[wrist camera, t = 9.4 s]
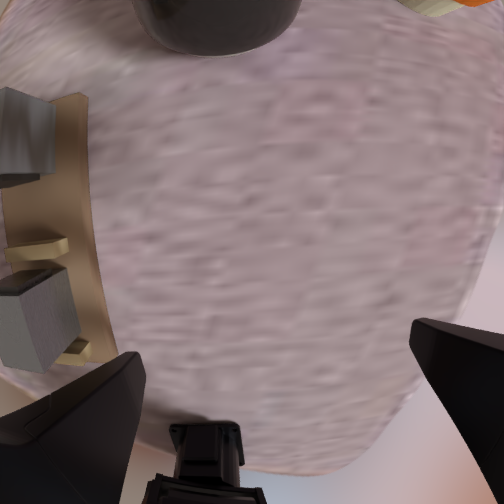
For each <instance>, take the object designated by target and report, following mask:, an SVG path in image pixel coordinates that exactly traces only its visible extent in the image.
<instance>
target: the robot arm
mask: <svg viewBox="0 0 504 504" xmlns="http://www.w3.org/2000/svg"><path fill="white" fill-rule="evenodd" d="M409 345H410V348H411V350H412V352H413V354H414V356H415V358H416V360H417V362H418V364H419V366H420V368H421V370H422V371H423V373H424V375H425V377H426V379H427V381H428V382H429V384H430V385H431V387H432V388H433V390H434V392H435V393H436V395H437V396H438V398H439V399H440V401H441V403H442V404H443V406H444V407H445V409H446V410H447V412H448V414H449V415H450V417H451V419H452V420H453V422H454V424H455V425H456V427H457V429H458V430H459V432H460V434H461V436H462V437H463V439H464V441H465V442H466V444H467V446H468V448H469V449H470V451H471V453H472V455H473V457H474V458H475V460H476V462H477V464H478V466H479V467H481V468H480V470H481V472H482V473H483V475H484V477H485V479H486V481H487V483H488V485H489V487H490V489H491V491H492V493H493V495H494V497H495V499H496V501H497V503H498V504H504V334H499V333H494V332H489V331H484V330H479V329H474V328H470V327H465V326H460V325H456V324H451V323H446V322H442V321H437V320H433V319H428V318H419V319H415V320H414V321H413V322H412V326H411V332H410V339H409ZM145 383H146V373H145V370H144V366H143V363H142V359H141V356H140V354H139V353H138V352H125V353H123V354H121V355H119V356H118V357H116V358H114V359H112V360H111V361H109V362H107V363H105V364H103V365H102V366H100V367H98V368H96V369H95V370H93V371H91V372H89V373H87V374H86V375H84V376H82V377H80V378H78V379H76V380H75V381H73V382H71V383H69V384H67V385H66V386H64V387H62V388H60V389H58V390H56V391H55V392H53V393H51V395H47V396H45V397H43V398H41V399H39V400H38V401H36V402H34V403H32V404H30V405H28V406H25V407H23V408H21V409H19V410H16V411H14V412H12V413H9V414H7V415H5V416H2V417H0V504H119V501H120V497H121V492H122V488H123V483H124V479H125V475H126V471H127V466H128V463H129V458H130V455H131V451H132V447H133V443H134V439H135V435H136V432H137V428H138V424H139V420H140V416H141V409H142V403H143V396H144V389H145ZM234 428H236V429H234ZM174 429H175V430H174ZM169 432H170V435H171V438H172V441H173V444H174V446H175V449H176V452H177V457H176V463H175V470H174V476H173V477H168V476H163V474H159V473H156V477H155V480H154V479H153V480H152V481H148V483H147V488H146V492H145V496H144V499H143V501H142V504H267V502H266V499H265V497H264V493H263V490H262V488H259V487H257V488H256V487H255V488H244V487H240V477H239V466H243V465H244V464H245V461H244V454H243V446H242V439H241V431H240V426H239V425H238V424H212V425H177V424H173V425H170V427H169Z"/></svg>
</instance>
